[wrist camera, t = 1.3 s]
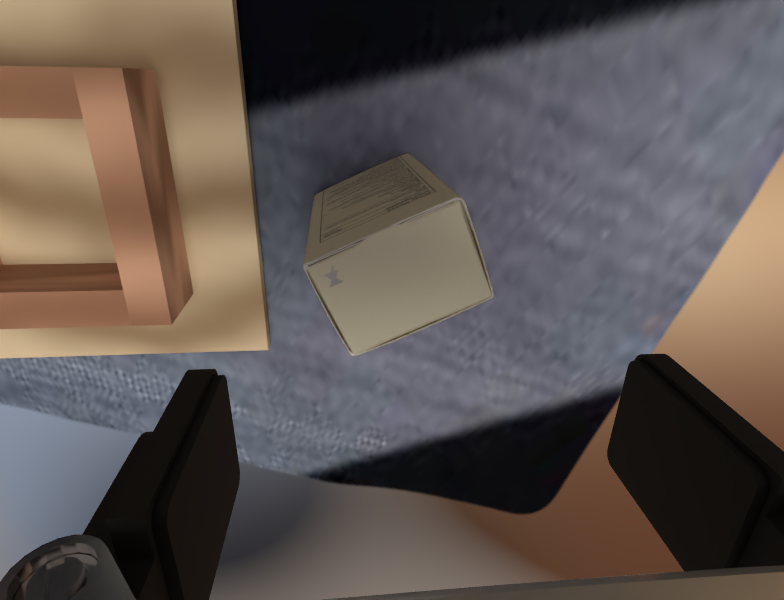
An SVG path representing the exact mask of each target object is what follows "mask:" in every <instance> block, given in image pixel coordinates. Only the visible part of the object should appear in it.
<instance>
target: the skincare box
mask: <svg viewBox="0 0 784 600" xmlns="http://www.w3.org/2000/svg"><path fill="white" fill-rule="evenodd" d="M303 269H304V271H305V273H306V275H307V277H308V279H309V281H310V283H311V285H312V287H313V289H314V291H315V293H316V295H317V297H318V298H319V300H320V302H321V304H322V306H323V308H324V310H325V312H326V314H327V316H328V317H329V319H330V321H331V323H332V325H333V327H334V328H335V330H336V332H337V334H338V336H339V337H340V339H341V341H342V342H343V344H344V345H345V347H346V349H347V350H348V352H349V354H350V355H351V356H357V355H360V354H362V353H365V352H368V351H371V350H373V349H376V348H379V347H382V346H384V345H386V344H389V343H391V342H394V341H397V340H399V339H401V338H404V337H406V336H409V335H411V334H413V333H415V332H418V331H420V330H422V329H425V328H427V327H429V326H432V325H434V324H436V323H439V322H441V321H443V320H445V319H447V318H450V317H452V316H454V315H457V314H459V313H461V312H463V311H465V310H467V309H470V308H472V307H474V306H476V305H478V304H480V303H482V302H485V301H487V300H489V299H491V298H493V297H494V291H493V288H492V285H491V282H490V278H489V275H488V271H487V268H486V264H485V261H484V258H483V254H482V251H481V248H480V245H479V242H478V239H477V236H476V232H475V229H474V226H473V223H472V220H471V218H470V215H469V212H468V209H467V206H466V203H465V201H464V199H463V198H462V197H460V196H459V195H458V194H457V193H456V192H454V191H453V190H452V189H451V188H450V187H449V186H447V185H446V184H445V183H444V182H443V181H442V180H440V179H439V178H438V177H437V176H436V175H435V174H433V173H432V172H431V171H430V170H429V169H427V168H426V167H425V166H424V165H423V164H422V163H420V162H419V161H418V160H417V159H416V158H415V157H414V156H412V155H411V154H410V153H406V154H403V155H401V156H398V157H396V158H393V159H391V160H389V161H386V162H384V163H382V164H379V165H377V166H375V167H372V168H370V169H368V170H366V171H363V172H361V173H359V174H357V175H355V176H353V177H350V178H348V179H346V180H344V181H342V182H340V183H338V184H336V185H334V186H331V187H329V188H327V189H325V190H323V191H321V192H319V193H317V194H316V195H315V196H314V200H313V207H312V213H311V220H310V227H309V232H308V239H307V245H306V251H305V257H304V263H303Z"/></svg>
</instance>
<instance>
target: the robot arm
mask: <svg viewBox="0 0 784 600" xmlns="http://www.w3.org/2000/svg"><path fill="white" fill-rule="evenodd" d="M607 456H608V460H609V463H610V465H611V467H612V468H613V470H614V471H615V473H616V474H617V476H618V477H619V478H620V480H621V481H622V483H623V484H624V486H625V487H626V488H627V490H628V491H629V493H630V494H631V496H632V497H633V498H634V500H635V501H636V502H637V504H638V506H639V507H640V508H641V510H642V511H643V513H644V514H645V516H646V517H647V518H648V520H649V521H650V523H651V524H652V525H653V527H654V528H655V530H656V531H657V533H658V534H659V535H660V537H661V538H662V540H663V541H664V543H665V544H666V545H667V547H668V548H669V550H670V551H671V553H672V554H673V556H674V557H675V558H676V560H677V561H678V563H679V564H680V566H681V567H682V568H683V570H684V572H670V573H656V574H641V575H627V576H614V577H600V578H586V579H573V580H560V581H547V582H533V583H521V584H508V585H495V586H482V587H469V588H457V589H445V590H432V591H421V592H408V593H396V594H384V595H372V596H360V597H348V598H337V599H336V598H335V599H325V600H784V452H783V451H782V450H781V449H780V448H779V447H777V446H776V445H775V444H774V443H773V442H771V441H770V440H769V439H768V438H766V437H765V436H764V435H763V434H762V433H761V432H759V431H758V430H757V429H756V428H754V427H753V426H752V425H751V424H750V423H749V422H747V421H746V420H745V419H744V418H743V417H741V416H740V415H739V414H738V413H737V412H735V411H734V410H733V409H732V408H731V407H729V406H728V405H727V404H726V403H725V402H723V401H722V400H721V399H720V398H719V397H717V396H716V395H715V394H714V393H712V392H711V391H710V390H709V389H708V388H707V387H705V386H704V385H703V384H702V383H701V382H699V381H698V380H697V379H696V378H695V377H693V376H692V375H691V374H690V373H688V372H687V371H686V370H685V369H684V368H683V367H681V366H680V365H679V364H678V363H677V362H675V361H674V360H673V359H672V358H670V357H669V356H668V355H666V354H641V355H638V356H637V357H636V358H635V361H632V362H630V364H629V366H628V369H627V373H626V377H625V381H624V385H623V389H622V393H621V397H620V401H619V405H618V409H617V414H616V417H615V421H614V425H613V429H612V433H611V438H610V442H609V445H608V451H607ZM239 480H240V469H239V462H238V455H237V448H236V441H235V434H234V427H233V420H232V413H231V406H230V400H229V393H228V386H227V380H226V377H225V375H218V374H217V371H216V370H215V369H199V370H187V372H186V373H185V375H184V377H183V378H182V380H181V382H180V384H179V386H178V388H177V389H176V391H175V393H174V395H173V397H172V398H171V400H170V402H169V404H168V406H167V407H166V409H165V411H164V413H163V415H162V417H161V418H160V420H159V422H158V424H157V426H156V427H155V429H154V431H153V432H145V433H143V434H142V435H141V436H140V437H139V439H138V440H137V442H136V444H135V445H134V447H133V449H132V450H131V452H130V454H129V455H128V457H127V459H126V461H125V462H124V464H123V466H122V468H121V469H120V471H119V473H118V474H117V476H116V478H115V479H114V481H113V483H112V485H111V486H110V488H109V490H108V492H107V493H106V495H105V497H104V498H103V500H102V502H101V504H100V505H99V507H98V509H97V511H96V512H95V514H94V516H93V517H92V519H91V521H90V523H89V524H88V526H87V528H86V529H85V531H84V533H83V534H82V535H71V536H67V537H62V538H58V539H56V540H53V541H51V542H49V543H46V544H44V545H42V546H40V547H39V548H37V549H35V550H33V551H32V552H30V553H29V554H27V555H25V556H24V557H23V558H22V559H21V560H20V561H19V562H17V563H16V564H15V565H14V566H13V567H12V568H11V569H10V570H9V571H8V572H7V574H6V575H5V576H4V578H3V579H2V580H1V581H0V600H209V597H210V593H211V589H212V586H213V582H214V578H215V574H216V570H217V566H218V563H219V559H220V555H221V551H222V548H223V543H224V540H225V536H226V532H227V529H228V525H229V521H230V517H231V513H232V509H233V505H234V502H235V498H236V494H237V491H238V486H239Z"/></svg>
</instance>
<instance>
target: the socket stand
mask: <svg viewBox="0 0 784 600" xmlns="http://www.w3.org/2000/svg"><path fill="white" fill-rule="evenodd" d="M269 346H270V333H269V323H268V313H267V303H266V293H265V283H264V273H263V263H262V254H261V244H260V234H259V224H258V214H257V204H256V194H255V184H254V174H253V164H252V154H251V144H250V135H249V125H248V115H247V105H246V95H245V85H244V75H243V65H242V55H241V45H240V35H239V25H238V15H237V6H236V0H0V358H27V357H59V356H91V355H123V354H155V353H187V352H219V351H252V350H268V349H269Z"/></svg>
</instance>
